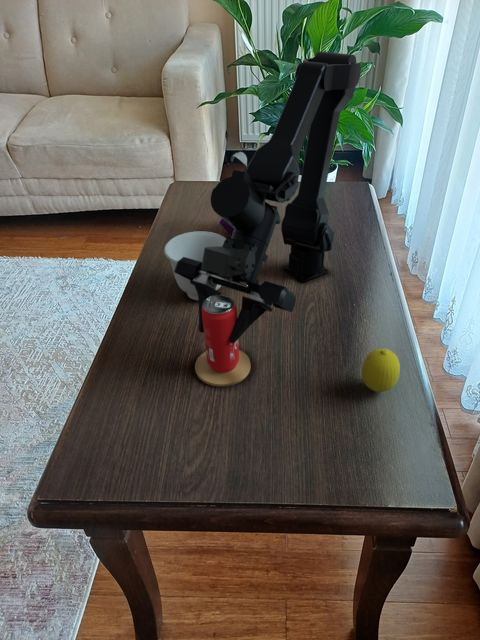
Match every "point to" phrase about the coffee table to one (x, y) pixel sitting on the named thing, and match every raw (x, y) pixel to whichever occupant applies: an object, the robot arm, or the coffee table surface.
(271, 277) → the coffee table surface
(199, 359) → the trivet
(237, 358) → the beverage can
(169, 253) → the teacup
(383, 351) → the lemon
